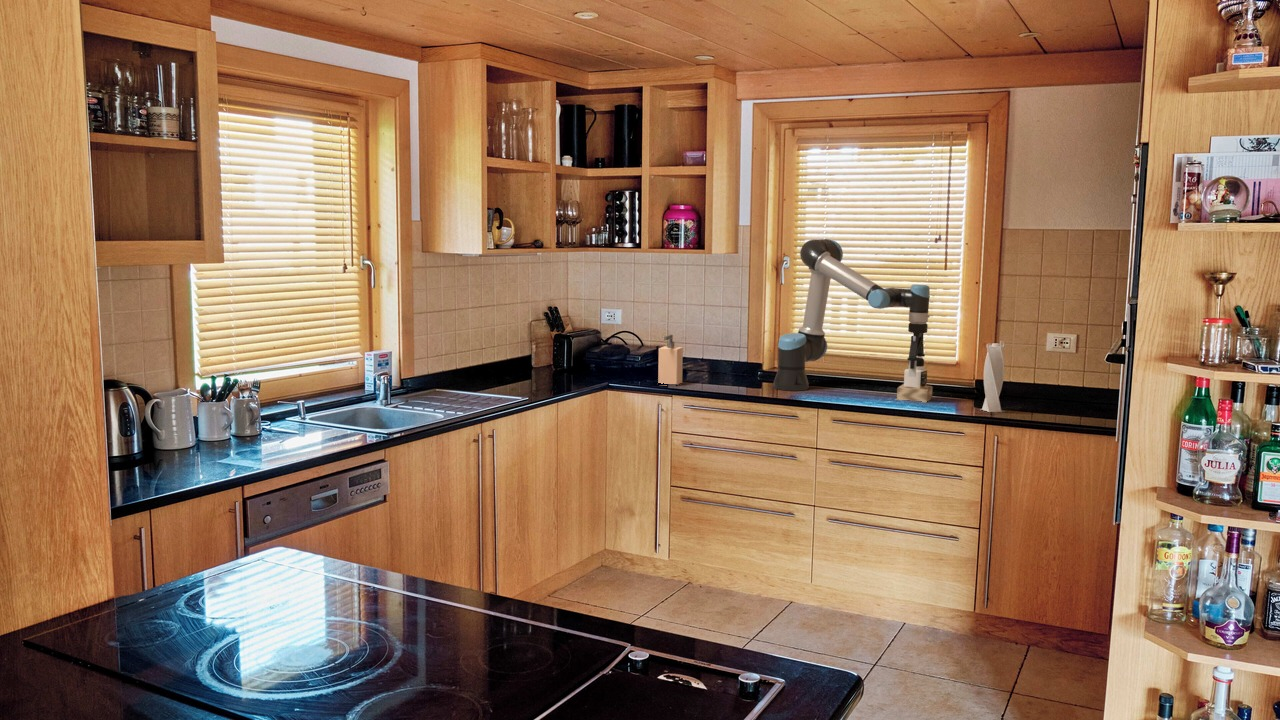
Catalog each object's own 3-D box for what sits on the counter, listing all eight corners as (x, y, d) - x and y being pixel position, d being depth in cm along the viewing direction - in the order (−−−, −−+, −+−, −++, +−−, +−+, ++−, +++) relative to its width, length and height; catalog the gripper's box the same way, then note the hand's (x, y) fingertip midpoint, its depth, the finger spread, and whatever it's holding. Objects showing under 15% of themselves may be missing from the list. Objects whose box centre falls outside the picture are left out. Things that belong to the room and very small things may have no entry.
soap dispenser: (663, 382, 449) (664, 333, 446) (682, 383, 446) (683, 334, 443) (655, 386, 437) (655, 336, 434) (673, 387, 434) (674, 337, 431)
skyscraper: (1007, 413, 383) (1012, 340, 379) (988, 414, 381) (993, 340, 377) (995, 409, 391) (1000, 338, 387) (976, 410, 389) (981, 338, 386)
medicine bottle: (920, 388, 407) (921, 359, 405) (903, 386, 411) (904, 357, 409) (926, 386, 413) (928, 357, 411) (909, 384, 417) (911, 356, 415)
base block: (896, 400, 410) (897, 387, 409) (902, 395, 420) (903, 383, 420) (926, 402, 404) (927, 390, 404) (931, 398, 415) (932, 385, 414)
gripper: (922, 326, 395) (918, 379, 398) (933, 320, 418) (929, 371, 421) (902, 324, 399) (899, 377, 402) (914, 319, 421) (911, 369, 424)
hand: (915, 374), depth 411 cm, fingers open, 13 cm apart
